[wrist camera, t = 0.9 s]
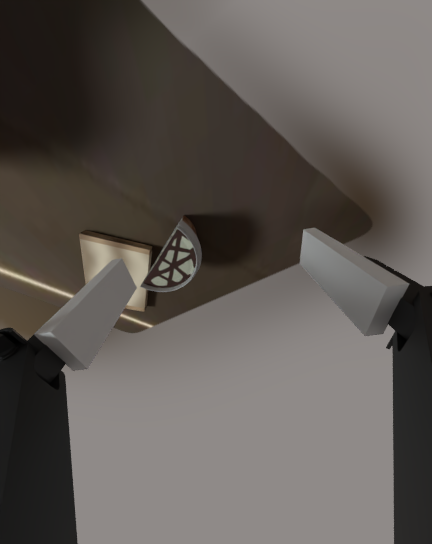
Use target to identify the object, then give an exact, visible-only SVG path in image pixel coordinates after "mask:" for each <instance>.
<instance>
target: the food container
mask: <svg viewBox="0 0 432 544" xmlns="http://www.w3.org/2000/svg"><path fill="white" fill-rule="evenodd" d="M201 260H202V251H201V246H200V242H199V240H198V238H197V232H196V229H195V227H194V225H193V223H192V222H191V221H190V220H189V219H188V218H187V217H186V216H185V215H184V216H183V217H182V219H181V220H180V222H179V224H178V225H177V227H176V228H175V230H174V232H173V233H172V235H171V236H170V238H169V240H168V241H167V243H166V244H165V246H164V248H163V249H162V251H161V252H160V254H159V256H158V257H157V259H156V261H155V262H154V264H153V266H152V267H151V269H150V271H149V272H148V274H147V276H146V277H145V279H144V281H143V282H142V284H141V286H140V287H142V288H144V289H147V290H150V291H156V292H169V291H174V290H177V289H179V288H181V287H183V286H184V285H186V284H187V283H188V282H190V281H191V280H192V279H193V277H194V276H195V274H196V273H197V271H198V269H199V267H200V264H201Z"/></svg>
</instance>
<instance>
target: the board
mask: <svg viewBox="0 0 432 544" xmlns="http://www.w3.org/2000/svg"><path fill="white" fill-rule="evenodd" d="M79 238H80V244H81V252H82V259H83V267H84V274H85V282H86V284H87V283H88V282H89V281H90V280H92V279H93V278H94V277H95V276H96V275H97V274H98V273H99V272H100V271H101V270H102V269H103V268H104V267H105V266H106V265H107V264H108V263H109V262H111V261H112V260H114V259H121V258H122V259H123V261H124V263H125V265H126V267H127V269H128V271H129V273H130V275H131V277H132V279H133V281H134V283H135V285H136V287H137V289H136V290H135V292H134V294H133V295H132V297H131V298H130V300H129V302H128V303H127V305H126V307H125V308H127V309H132V310H138V311H145V309H146V307H147V298H148V290H147V289H144V288H142V287H140V286H141V284H142V282H143V281H144V279H145V277H146V276H147V274H148V272H149V271H150V268H151V257H152V247H153V246H150V245H145V244H141V243H137V242H133V241H129V240H124V239H120V238H116V237H112V236H108V235H103V234H99V233H95V232H91V231H87V230H85V231H83V232H81V233H79Z"/></svg>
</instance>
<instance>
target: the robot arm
mask: <svg viewBox="0 0 432 544" xmlns="http://www.w3.org/2000/svg"><path fill="white" fill-rule="evenodd" d="M300 265H301V266H302V267H303V268H304V269H305V270H306V272H307V273H308V274H309V275H310V276H311V277H312V278H313V279H314V280H315V281H316V282H317V284H318V285H319V286H320V287H321V288H322V289H323V290H324V291H325V292H326V293H327V295H328V296H329V297H330V298H331V299H332V300H333V301H334V302H335V304H337V306H338V307H339V308H340V309H341V310H342V311H343V312H344V313H345V315H346V316H347V317H348V318H349V319H350V320H351V321H352V322H353V323H354V325H355V326H356V327H357V328H358V329H359V330H360V331H361V332H362V333H363V334H364V336H370V335H377V334H383V333H384V331H385V329H386V327H387V325H388V324H389V325H390V326H391V327H392V328H393V329H394V330H395V333H394V335H393V336H392V338H391V340H390V342H389V343H388V345H387V347H386V348H388V349H390V348H391V346H393V443H394V444H393V450H394V544H432V286H425V287H424V286H422V285H420V284H418V283H417V282H415V281H413V280H411V279H409V278H408V277H406V276H404V275H402V274H401V273H399V272H397V271H394V269H392V268H390V267H388V266H387V267H386V265H384V264H383V263H381V262H379V261H378V260H375V259H372V258H369V257H366V256H362V255H360V254H358V253H357V252H355V251H353V250H351V249H350V248H348V247H346V246H345V245H343V244H341V243H340V242H338V241H336V240H335V239H333V238H331V237H330V236H328V235H326V234H325V233H323V232H321V231H320V230H318V229H316V228H310V229H304V230H303V239H302V248H301V257H300ZM136 289H137V287H136V285H135V283H134V281H133V279H132V277H131V275H130V273H129V271H128V269H127V267H126V265H125V263H124V261H123V259H122V258H121V259H114V260H112V261H111V262H109V263H108V264H107V265H106V266H105V267H104V268H103V269H102V270H101V271H100V272H99V273H98V274H97V275H96V276H95V277H94V278H93V279H92V280H90V281H89V282H88V283H87V284H86V285H85V286H84V287H83V288H82V289H81V290H80V291H79V292H78V293H77V294H76V295H75V296H74V297H73V298H72V299H70V300H69V301H68V302H67V303H66V304H65V305H64V306H63V307H62V308H61V309H60V310H59V311H58V312H57V313H56V314H55V315H54V316H53V317H52V318H51V319H49V320H48V321H47V322H46V323H45V324H44V325H43V326H42V327H41V328H40V329H39V330H38V331H37V332H36V333H35V334H34V335H33V336H32V337H31V338H30V339H29V340H28V341H27V340H25V339H24V338H23V337H22V336H21V335H20V334H18V333H17V332H16V331H15V330H14V329H13V328H5V329H1V330H0V544H77V532H76V518H75V505H74V491H73V478H72V464H71V450H70V437H69V423H68V409H67V396H66V382H65V375H64V373H63V372H62V371H61V369H62V368H63V367H64V365H65V364H66V365H67V366H68V367H70V368H71V369H72V370H73V371H75V370H83V369H88V367H89V366H90V364H91V363H92V361H93V359H94V358H95V356H96V354H97V353H98V351H99V349H100V348H101V346H102V344H103V343H104V341H105V340H106V338H107V336H108V335H109V333H110V331H111V330H112V328H113V326H114V325H115V323H116V321H117V320H118V318H119V317H120V315H121V313H122V312H123V310H124V308H125V307H126V305H127V303H128V302H129V300H130V298H131V297H132V295H133V294H134V292H135V290H136Z"/></svg>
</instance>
